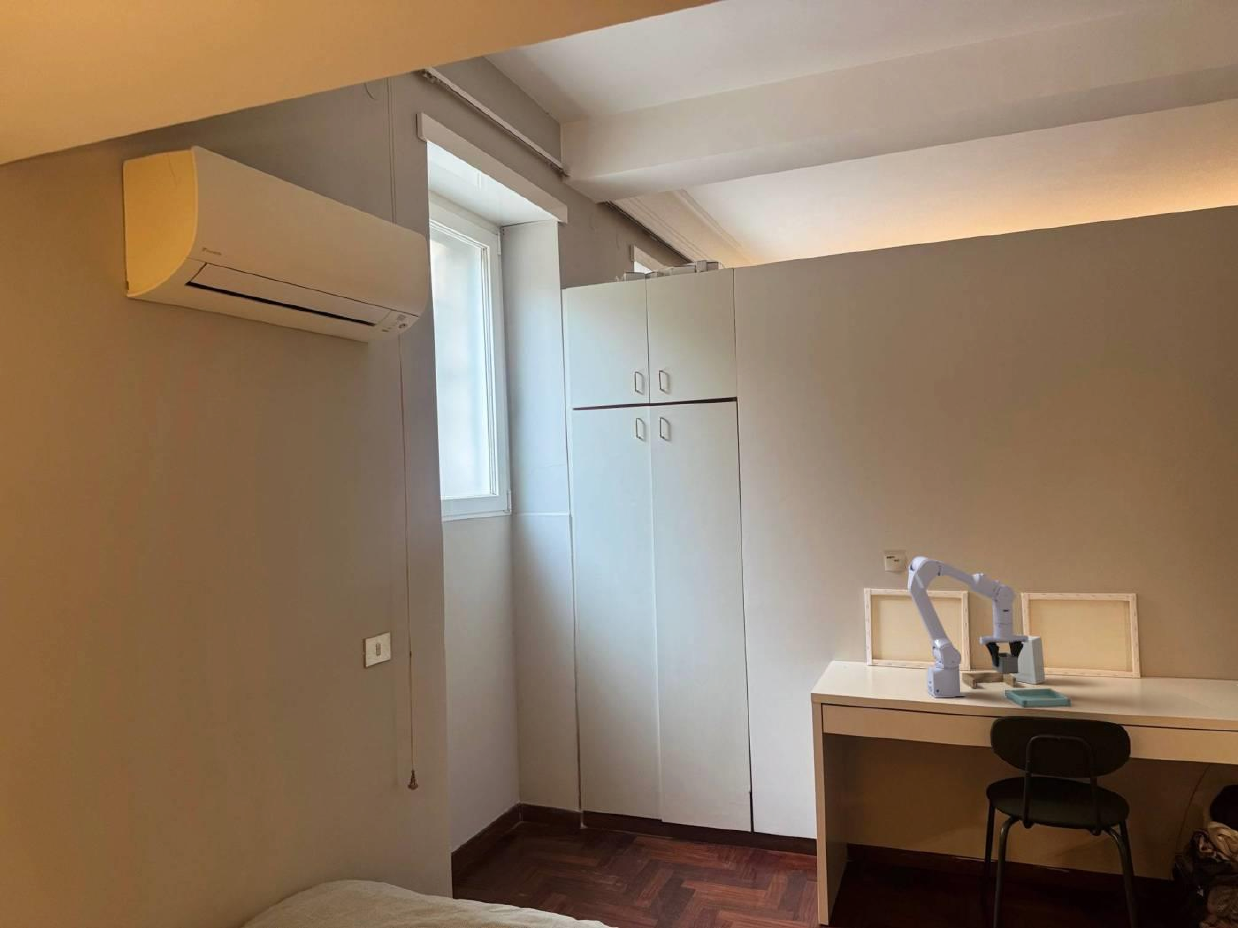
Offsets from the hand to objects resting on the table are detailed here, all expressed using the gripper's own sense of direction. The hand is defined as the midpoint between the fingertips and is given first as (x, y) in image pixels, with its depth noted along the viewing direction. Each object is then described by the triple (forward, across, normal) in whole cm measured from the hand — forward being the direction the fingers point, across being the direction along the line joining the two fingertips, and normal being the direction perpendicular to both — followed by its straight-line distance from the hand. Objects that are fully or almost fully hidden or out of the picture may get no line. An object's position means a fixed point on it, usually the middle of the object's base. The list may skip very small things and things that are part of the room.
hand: (1005, 665), depth 262 cm
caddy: (+2, 0, 0) cm, 2 cm away
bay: (+9, +1, -10) cm, 13 cm away
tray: (+9, -5, +10) cm, 14 cm away
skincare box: (+9, -13, -13) cm, 20 cm away
